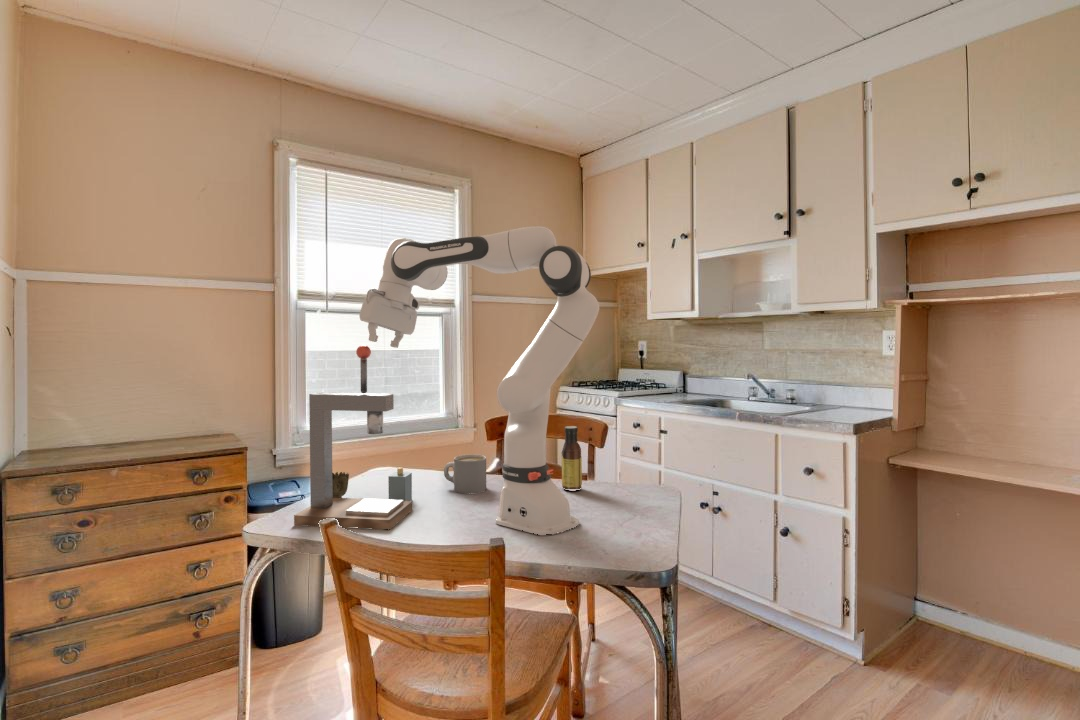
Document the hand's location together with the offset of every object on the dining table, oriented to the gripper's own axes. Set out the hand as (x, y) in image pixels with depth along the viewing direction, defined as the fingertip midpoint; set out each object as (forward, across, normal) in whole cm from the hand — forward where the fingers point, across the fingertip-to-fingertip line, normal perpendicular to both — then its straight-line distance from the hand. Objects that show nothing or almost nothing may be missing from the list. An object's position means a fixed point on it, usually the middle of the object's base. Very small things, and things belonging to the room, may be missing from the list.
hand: (383, 344), depth 154 cm
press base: (+46, -3, -5) cm, 47 cm away
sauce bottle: (+33, +44, -47) cm, 72 cm away
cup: (+47, +6, +10) cm, 48 cm away
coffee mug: (+39, +32, -16) cm, 53 cm away
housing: (+43, +13, -6) cm, 46 cm away
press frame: (+44, -3, -4) cm, 44 cm away
